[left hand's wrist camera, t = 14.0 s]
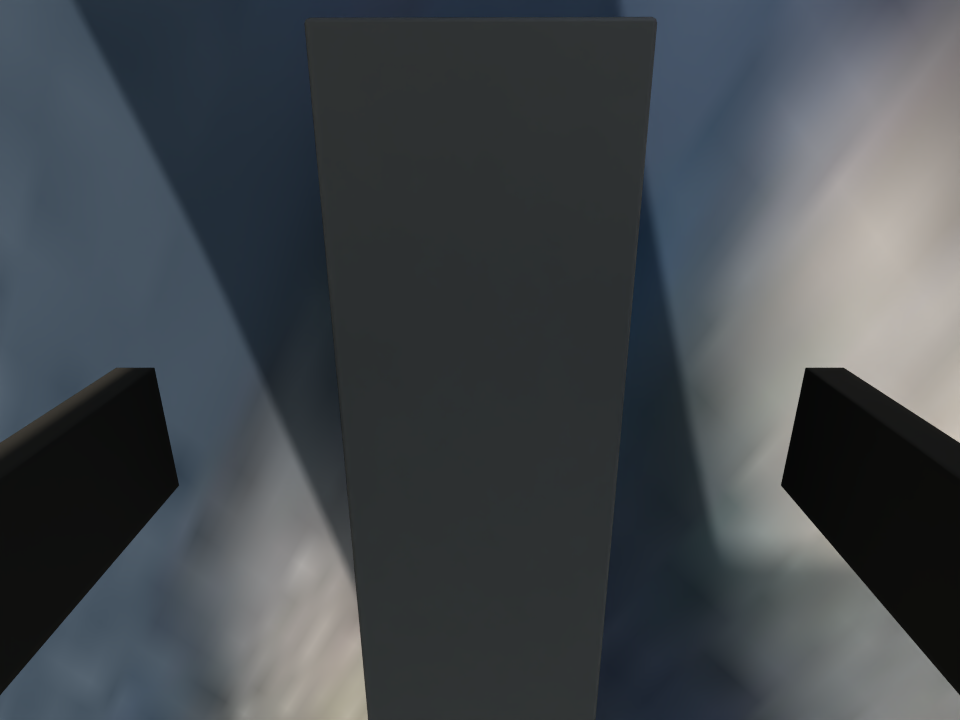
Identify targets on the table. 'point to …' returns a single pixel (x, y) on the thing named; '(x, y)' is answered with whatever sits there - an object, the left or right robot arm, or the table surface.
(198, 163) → the table surface
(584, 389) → the post
